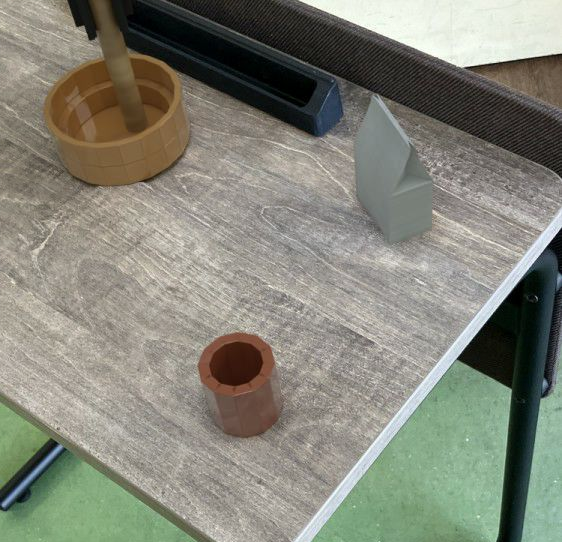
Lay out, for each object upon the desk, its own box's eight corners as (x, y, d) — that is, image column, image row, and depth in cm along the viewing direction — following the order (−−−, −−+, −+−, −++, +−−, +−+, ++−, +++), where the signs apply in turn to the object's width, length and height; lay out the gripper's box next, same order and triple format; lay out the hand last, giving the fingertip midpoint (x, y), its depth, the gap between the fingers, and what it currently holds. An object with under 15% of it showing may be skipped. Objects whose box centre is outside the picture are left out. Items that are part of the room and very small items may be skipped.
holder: (202, 432, 69) (187, 387, 64) (225, 374, 72) (212, 326, 67) (270, 446, 68) (260, 401, 63) (291, 387, 71) (283, 339, 66)
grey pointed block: (390, 249, 77) (389, 156, 69) (356, 195, 81) (351, 101, 73) (431, 233, 78) (435, 140, 69) (395, 180, 81) (395, 86, 73)
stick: (122, 131, 85) (70, -31, 72) (131, 116, 86) (81, -46, 73) (143, 134, 85) (94, -29, 72) (151, 119, 86) (105, -45, 73)
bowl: (38, 179, 86) (20, 137, 82) (91, 90, 92) (77, 47, 88) (163, 198, 83) (151, 155, 79) (209, 105, 89) (199, 61, 85)
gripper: (144, -269, 64) (194, -23, 79) (-88, -216, 64) (7, 22, 79) (162, -220, 60) (211, 30, 75) (-87, -163, 59) (14, 78, 74)
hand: (106, 24), depth 77 cm, fingers closed on stick, 2 cm apart
